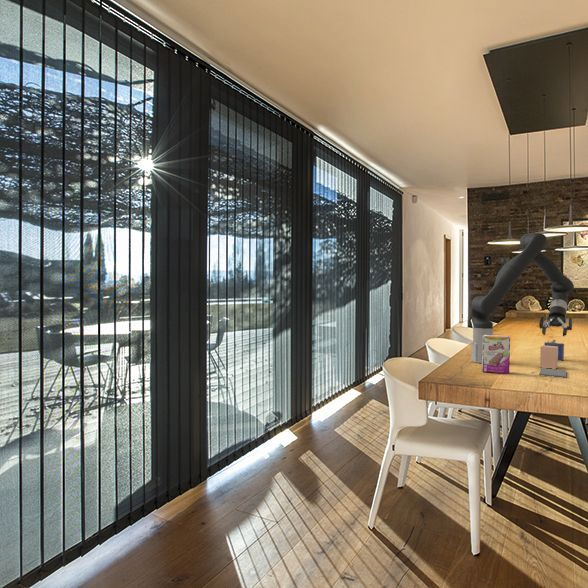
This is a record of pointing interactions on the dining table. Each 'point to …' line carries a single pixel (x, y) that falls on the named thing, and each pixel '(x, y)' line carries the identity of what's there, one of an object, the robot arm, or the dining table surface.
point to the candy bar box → (496, 354)
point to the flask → (560, 348)
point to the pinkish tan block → (549, 356)
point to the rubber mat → (553, 372)
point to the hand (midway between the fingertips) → (553, 334)
